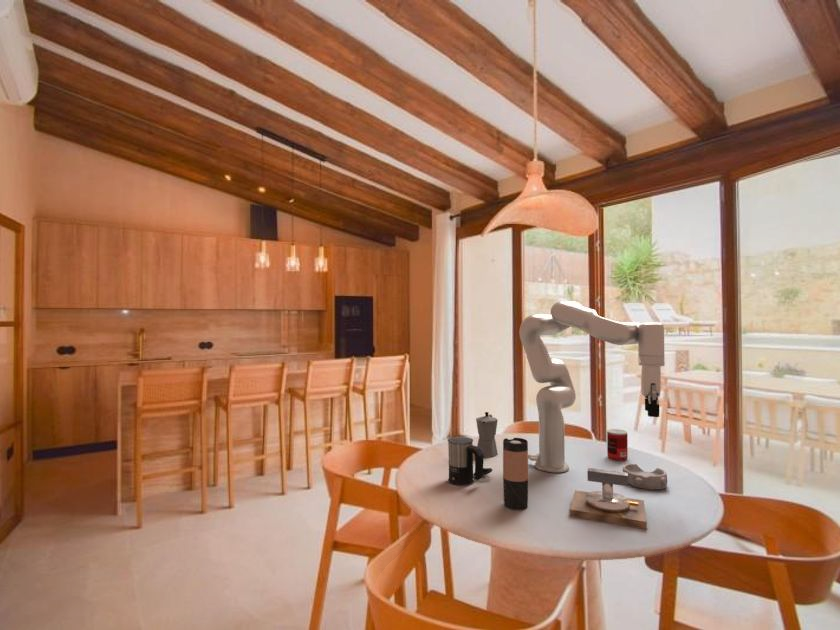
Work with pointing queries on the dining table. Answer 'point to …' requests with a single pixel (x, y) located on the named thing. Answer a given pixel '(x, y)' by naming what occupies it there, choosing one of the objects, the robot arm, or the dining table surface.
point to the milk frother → (465, 461)
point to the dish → (645, 477)
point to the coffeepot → (487, 435)
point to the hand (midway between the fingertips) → (651, 413)
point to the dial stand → (627, 518)
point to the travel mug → (515, 473)
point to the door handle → (608, 491)
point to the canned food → (617, 444)
